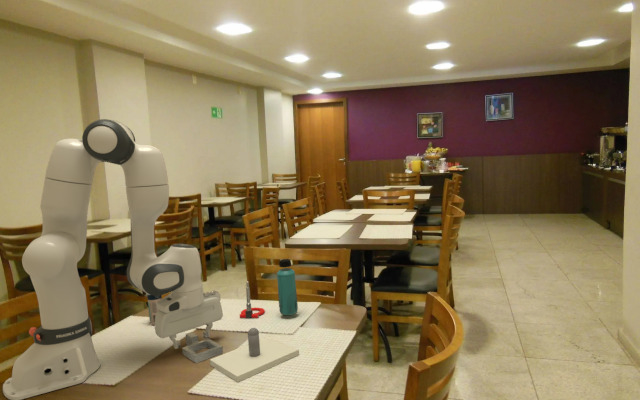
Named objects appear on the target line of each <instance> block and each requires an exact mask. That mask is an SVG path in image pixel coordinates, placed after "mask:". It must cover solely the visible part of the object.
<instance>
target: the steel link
mask: <svg viewBox="0 0 640 400" xmlns="http://www.w3.org/2000/svg"><path fill="white" fill-rule="evenodd" d="M185 343H186V346H184V347H181V350H182V351H181V352H182V353H181V354H182V355H183V356H184V357H186V358H188V359H189V360H190V361H192V362H193V363H195V364H199V363H201V362H203V361H206V360H210V359H212V358H215V357H218V356H220V355H223V354H224V347H223V345H221V344H219V343H217V342H216V341H214V340H212V339H210V338H206V339H205V338H204V339H203V340H199V335H198V334H196V333H194V332H192V331H190V332H187V333H185ZM207 348H208V349H207ZM204 349H207V350H204ZM201 350H204V351H201ZM198 351H201V352H198ZM197 352H198V353H197Z"/></svg>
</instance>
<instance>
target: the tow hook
mask: <svg viewBox="0 0 640 400" xmlns="http://www.w3.org/2000/svg"><path fill="white" fill-rule="evenodd" d="M249 283H250V282H249V281H248V280H247V281H246V287H245V291H246V293H245V294H246V308H245V309H243V310H241V311H240V313H239V318H240V319H259V317H260V316H263V315H264V314H265V312H266V311H265V309H264V308H263V307H252V303H251V291H250V288H251V287H250V285H249ZM257 311H258V312H257Z"/></svg>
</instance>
